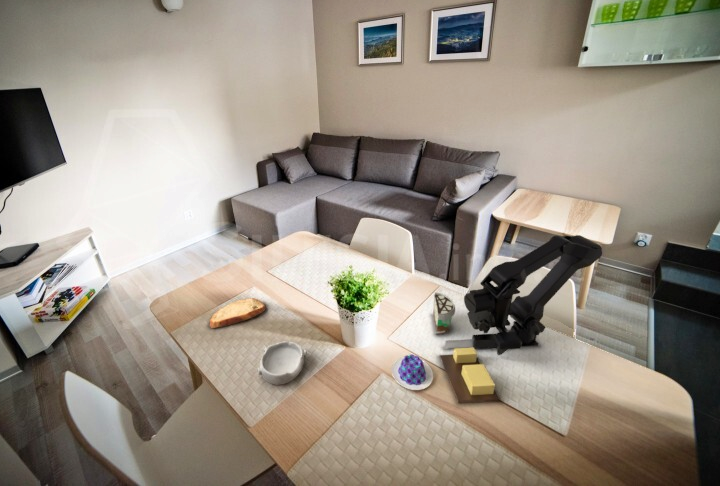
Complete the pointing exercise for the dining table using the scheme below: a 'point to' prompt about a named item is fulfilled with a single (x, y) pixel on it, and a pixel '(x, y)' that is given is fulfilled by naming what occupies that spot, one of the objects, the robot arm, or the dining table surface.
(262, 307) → the bread slice
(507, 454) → the dining table surface
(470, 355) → the butter slice
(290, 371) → the dish
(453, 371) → the butter board
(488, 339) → the knife
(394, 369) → the pudding
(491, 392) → the butter block
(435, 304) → the cake slice
